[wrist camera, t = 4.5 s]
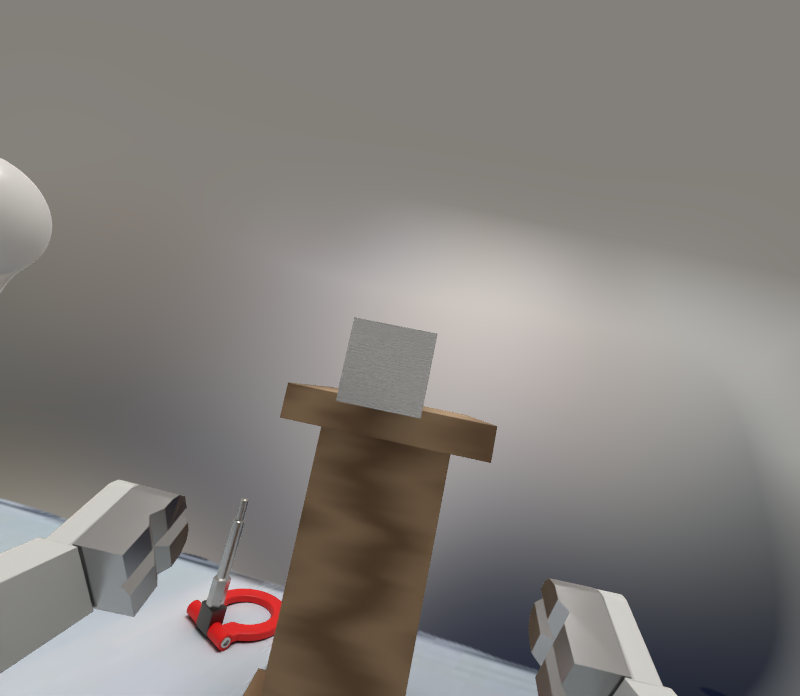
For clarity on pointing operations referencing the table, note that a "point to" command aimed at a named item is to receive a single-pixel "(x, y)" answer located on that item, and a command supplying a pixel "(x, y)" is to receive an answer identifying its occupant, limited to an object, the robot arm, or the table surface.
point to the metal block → (387, 367)
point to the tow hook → (232, 599)
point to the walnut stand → (362, 545)
